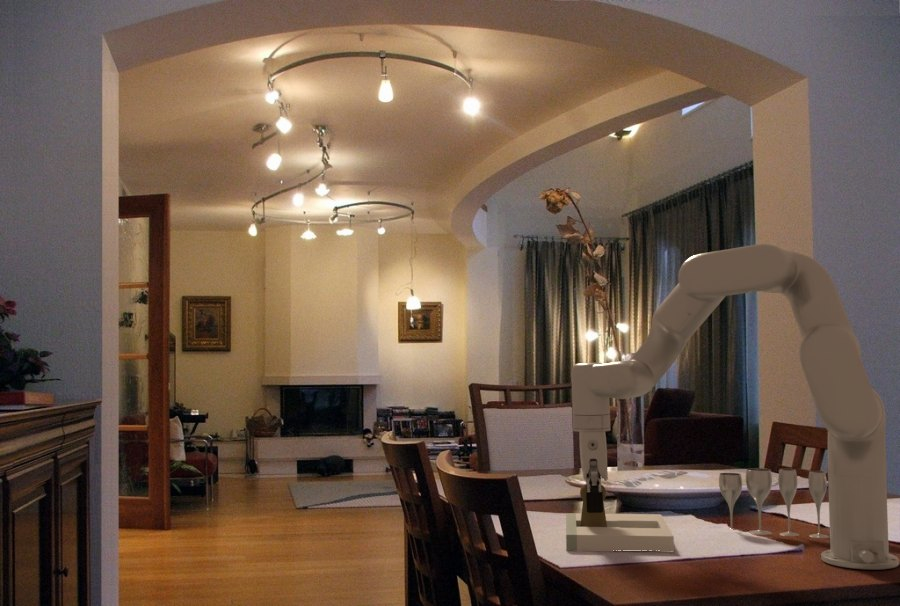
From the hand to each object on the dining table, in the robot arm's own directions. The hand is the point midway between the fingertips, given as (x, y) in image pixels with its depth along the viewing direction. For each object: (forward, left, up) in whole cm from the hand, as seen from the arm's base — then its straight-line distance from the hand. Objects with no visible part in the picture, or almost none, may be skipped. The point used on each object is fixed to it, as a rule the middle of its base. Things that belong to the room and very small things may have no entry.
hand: (594, 508), depth 189 cm
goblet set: (+8, -40, -6) cm, 41 cm away
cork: (0, 0, -6) cm, 6 cm away
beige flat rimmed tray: (0, -4, -6) cm, 7 cm away
